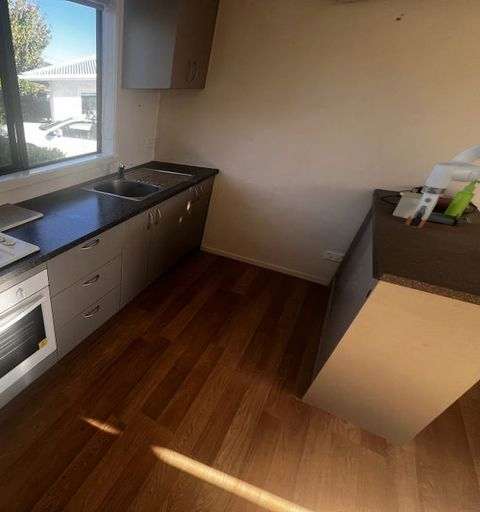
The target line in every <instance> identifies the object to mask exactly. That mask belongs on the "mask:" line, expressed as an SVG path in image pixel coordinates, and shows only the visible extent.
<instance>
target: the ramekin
mask: <svg viewBox="0 0 480 512" xmlns="http://www.w3.org/2000/svg"><path fill="white" fill-rule="evenodd" d="M414 217H415V216H409V217H408V218H406V221H405V222H404V224H405V225H406V226H408V227H413V228H415V227H414V226H410V225H409V224H410V223H411V221H412V219H413V218H414ZM427 221H428V220H427V219H425V218H422V221H421V223H420V224H419V226H418V227H417V228H420V229H421V228H423V227H424V225H425V224H426V222H427Z"/></svg>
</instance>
